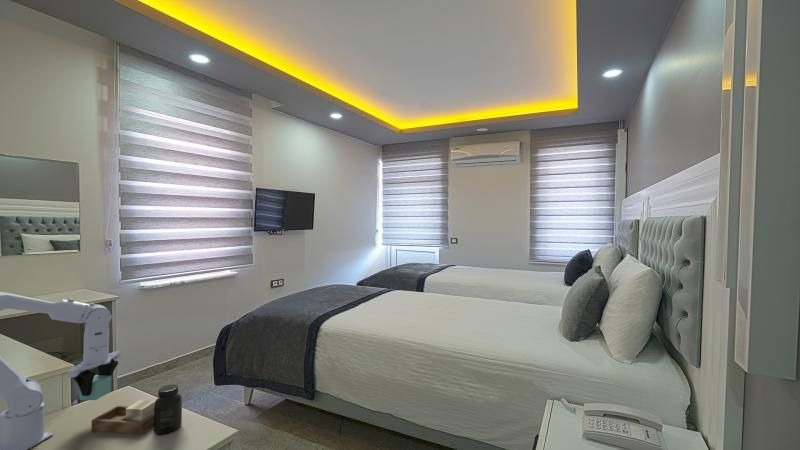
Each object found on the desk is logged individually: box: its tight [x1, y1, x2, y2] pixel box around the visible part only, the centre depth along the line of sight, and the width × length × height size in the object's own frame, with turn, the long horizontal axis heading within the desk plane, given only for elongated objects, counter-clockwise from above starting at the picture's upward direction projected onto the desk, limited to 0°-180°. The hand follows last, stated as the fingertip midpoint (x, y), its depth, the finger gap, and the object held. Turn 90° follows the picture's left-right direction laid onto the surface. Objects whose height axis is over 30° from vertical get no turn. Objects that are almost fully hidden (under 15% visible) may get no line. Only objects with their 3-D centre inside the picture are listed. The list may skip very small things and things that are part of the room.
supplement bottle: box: [153, 383, 183, 436], centre depth 99 cm, size 7×7×12 cm
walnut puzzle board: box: [91, 399, 156, 435], centre depth 101 cm, size 16×8×6 cm, turn 86°
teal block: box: [79, 374, 112, 401], centre depth 103 cm, size 5×5×5 cm
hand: (95, 390), depth 103 cm, fingers closed on teal block, 5 cm apart
